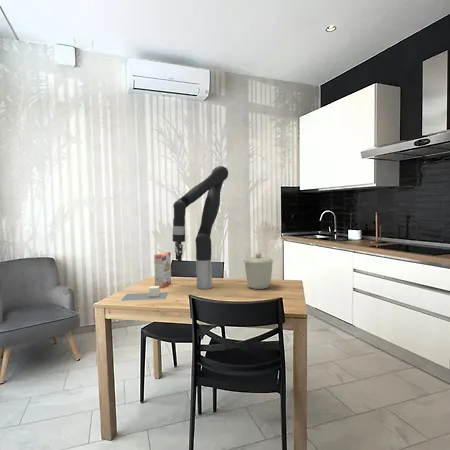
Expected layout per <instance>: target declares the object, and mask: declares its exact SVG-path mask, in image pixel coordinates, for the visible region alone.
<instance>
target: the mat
mask: <svg viewBox="0 0 450 450" xmlns="http://www.w3.org/2000/svg"><path fill="white" fill-rule="evenodd" d="M168 295H169V291H168V292H167V291H164V292H163V291H162V292H160V295H159V297H149V292H144V293H142V292H137V293H126V294H125V295H124V296H123V297H122V299H121V300H120V301H121V302H123V301H125V302H126V301H127V302H128V301H144V300H145V301H146V300H148V301H149V300H151V301H152V300H166V299H167V297H168Z"/></svg>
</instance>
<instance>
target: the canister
mask: <svg viewBox="0 0 450 450" xmlns="http://www.w3.org/2000/svg"><path fill="white" fill-rule="evenodd" d="M243 262H244V268H245V276H246V282H247V286H248V287H249V288H251V289H254V290H263V289H264V290H266V289H269V287H270V286H271V281H272V275H273V274H272V273H273V263H274V259H272V258H271V257H267V256H262V253H261V252H256V253H255V256H250V257H247V258H245V259H244V260H243Z"/></svg>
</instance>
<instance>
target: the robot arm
mask: <svg viewBox="0 0 450 450" xmlns="http://www.w3.org/2000/svg"><path fill="white" fill-rule="evenodd" d="M228 177H229V170H228V168H227V167H226V166H223V165H218V166H215V167H214V168H213V169H212V172H211V174H209V175H208V176H207V177H206V178H205V179H204V180H202V181H200V182H199V183H198V184H197V185H195V186H193V187H192V188H191V189H190V190H188V191H187V192H186V193H185V194H184V195H182V196H181V197H180V198H178V199H177V200H175V202H174V203H173V206H172V207H173V219H172V220H173V221H172V225H173V226H172V242H173V243H174V253H175V260H176V261H177V262H178V263H181V262H182V260H183V259H182V256H183V255H184V254H183V251H184V249H183V248H184V247H183V245H184V244H182V243H185V242H186V209H187V208H188V207H189V206H190V205H191V204H193V203H195V202H196V201H198V199H201V197H202V196H204V194H206V193H207V194H206V198H205V201H204V203H203V209H202V214H201V220H200V226H199V229H198V232H197V235H196V237H195V252H196V253H195V265H196V266H195V267H196V288H197V289H199V290H209V289H213V275H212V273H213V272H212V239H211V234H212V229H213V226H214V223H215V221H216V219H217V216H218V214H219V209H220V204H221V192H222V187H223V184H224V181H226V180H227V179H228Z"/></svg>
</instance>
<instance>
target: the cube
mask: <svg viewBox="0 0 450 450" xmlns="http://www.w3.org/2000/svg"><path fill="white" fill-rule="evenodd" d="M160 289H161V288H159V286H155V285H150V286H149V288H148V290H149V291H148V293H149V297H159V295H160V291H161V290H160Z"/></svg>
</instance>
